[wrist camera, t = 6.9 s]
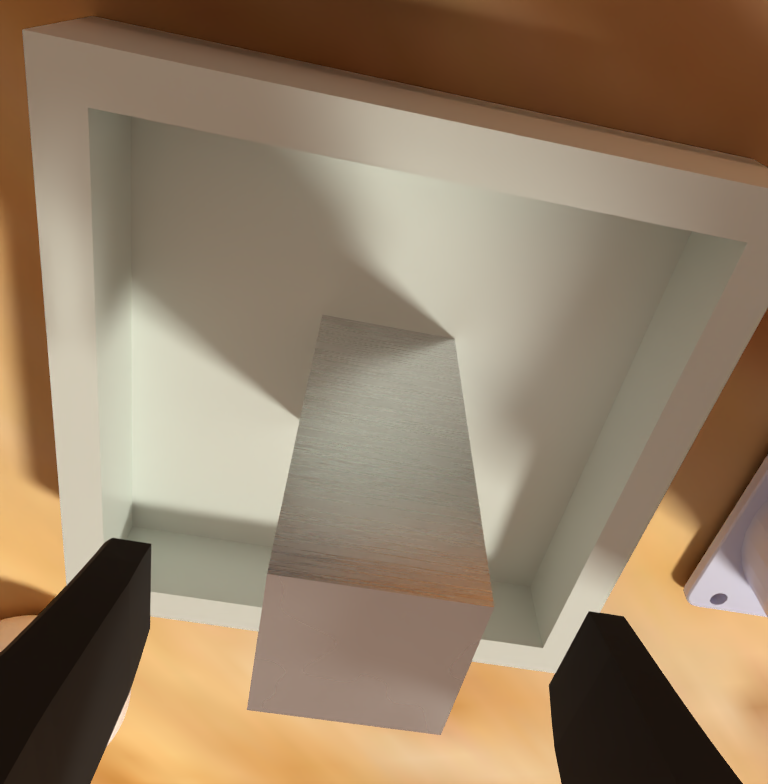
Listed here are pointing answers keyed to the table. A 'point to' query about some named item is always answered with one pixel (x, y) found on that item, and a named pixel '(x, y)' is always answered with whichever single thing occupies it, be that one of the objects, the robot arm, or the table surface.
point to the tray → (369, 306)
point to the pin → (375, 539)
